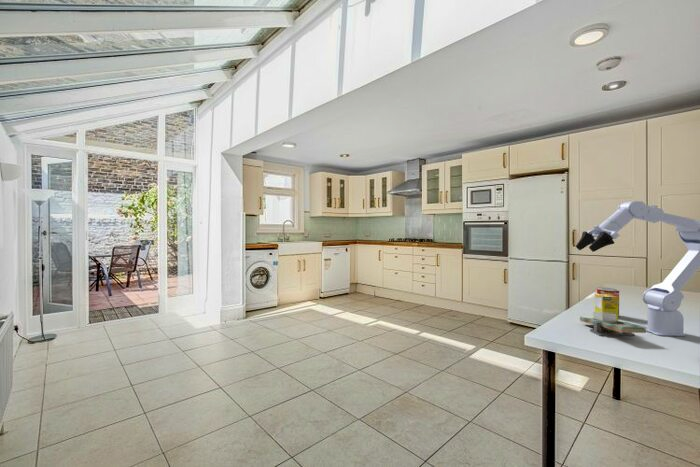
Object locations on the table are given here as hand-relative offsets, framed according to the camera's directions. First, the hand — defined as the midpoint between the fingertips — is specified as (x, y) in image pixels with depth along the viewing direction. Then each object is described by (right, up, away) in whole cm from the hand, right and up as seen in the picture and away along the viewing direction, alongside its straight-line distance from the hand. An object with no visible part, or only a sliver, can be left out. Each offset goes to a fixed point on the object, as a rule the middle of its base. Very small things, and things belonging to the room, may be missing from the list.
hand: (584, 248), depth 121 cm
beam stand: (+9, -32, -2) cm, 33 cm away
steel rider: (+9, -28, +1) cm, 30 cm away
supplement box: (+20, -32, +14) cm, 40 cm away
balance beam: (+9, -29, -1) cm, 31 cm away
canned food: (+27, -32, +23) cm, 48 cm away
